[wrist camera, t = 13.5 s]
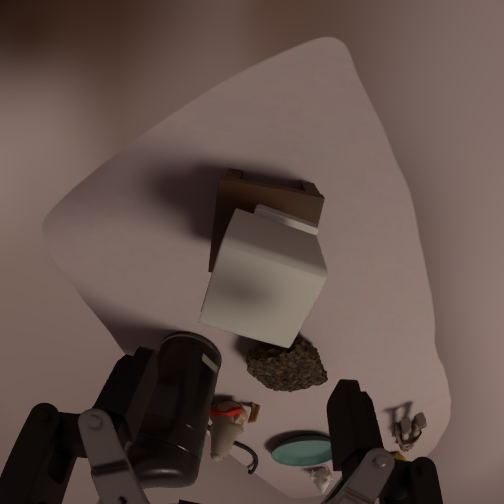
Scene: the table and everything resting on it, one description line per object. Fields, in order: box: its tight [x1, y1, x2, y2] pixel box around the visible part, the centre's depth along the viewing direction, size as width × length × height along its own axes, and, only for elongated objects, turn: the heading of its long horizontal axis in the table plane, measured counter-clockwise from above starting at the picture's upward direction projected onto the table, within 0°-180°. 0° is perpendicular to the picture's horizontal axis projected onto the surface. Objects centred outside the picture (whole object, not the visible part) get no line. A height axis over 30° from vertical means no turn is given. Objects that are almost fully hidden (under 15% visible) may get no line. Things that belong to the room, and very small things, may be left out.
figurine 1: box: [210, 401, 260, 461], centre depth 41 cm, size 9×7×12 cm
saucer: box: [271, 435, 332, 466], centre depth 51 cm, size 15×15×3 cm
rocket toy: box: [310, 466, 334, 492], centre depth 55 cm, size 5×5×8 cm
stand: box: [208, 169, 325, 272], centre depth 29 cm, size 9×9×6 cm
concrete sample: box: [246, 339, 328, 392], centre depth 38 cm, size 12×10×5 cm
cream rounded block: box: [199, 204, 327, 348], centre depth 21 cm, size 6×7×10 cm
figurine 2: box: [395, 413, 427, 452], centre depth 47 cm, size 6×6×20 cm
